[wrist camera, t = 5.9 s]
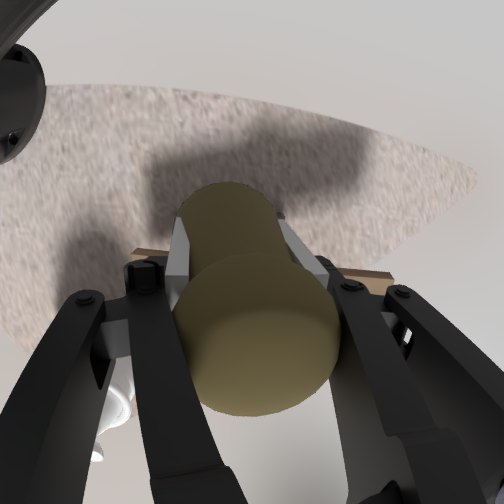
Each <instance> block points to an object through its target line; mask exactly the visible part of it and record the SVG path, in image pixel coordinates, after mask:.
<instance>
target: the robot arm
mask: <svg viewBox="0 0 504 504" xmlns="http://www.w3.org/2000/svg"><path fill="white" fill-rule="evenodd" d="M57 1H58V0H0V165H1V164H4V163H6V162H8V161H10V160H11V159H13V158H14V157H16V156H17V155H18V154H19V153H20V152H21V151H22V150H23V149H24V148H25V146H26V145H27V144H28V142H29V141H30V140H31V138H32V136H33V134H34V133H35V131H36V129H37V126H38V124H39V121H40V118H41V115H42V112H43V107H44V101H45V78H44V73H43V70H42V67H41V64H40V62H39V60H38V59H37V57H36V56H35V55H34V53H32V51H30V50H29V49H28V48H26V47H24V46H21V45H19V44H15V43H16V42H17V40H18V39H19V38H20V37H21V36H22V35H23V34H24V32H25V31H27V29H28V28H29V27H30V26H31V25H32V24H33V23H34V22H35V21H36V20H37V19H38V18H39V17H40V16H42V15H43V14H44V13H45V12H46V11H47V10H48V9H49V8H50V7H51V6H52V5H53V4H55V3H56V2H57ZM278 221H279V224H280V227H281V230H282V233H283V236H284V239H285V242H286V245H287V247H288V250H289V253H290V256H291V258H292V261H293V262H294V263H295V264H297V265H299V266H301V267H303V268H305V269H307V270H309V271H311V272H312V273H313V275H314V276H315V277H316V278H317V279H318V280H319V282H320V283H321V284H322V285H323V286H324V287H325V288H326V290H327V291H328V292H329V294H330V295H331V296H332V297H333V300H334V303H335V306H336V309H337V312H338V316H339V319H340V323H341V327H342V335H341V342H340V349H339V356H338V360H337V363H336V365H335V367H334V369H333V371H332V373H331V375H330V377H329V382H330V387H331V392H332V397H333V402H334V407H335V413H336V418H337V423H338V429H339V434H340V440H341V445H342V451H343V457H344V462H345V469H346V475H347V481H348V489H349V492H348V498H347V502H346V504H504V372H503V371H502V370H501V369H500V368H499V367H498V366H497V365H496V364H495V363H494V362H493V361H492V360H491V359H490V358H489V357H487V356H486V354H484V353H483V352H482V351H481V350H480V349H479V348H478V347H477V346H476V345H475V344H474V343H473V342H472V341H471V340H470V339H468V338H467V337H466V336H465V335H464V334H463V333H462V332H461V331H460V330H459V329H457V328H456V327H455V326H454V325H453V324H452V323H451V322H450V321H449V320H448V319H446V318H445V317H444V316H443V315H442V314H441V313H440V312H438V311H437V310H436V309H435V308H434V307H433V306H432V305H430V304H429V303H428V302H427V301H426V300H425V299H423V298H422V297H421V296H420V295H419V294H418V293H416V292H415V291H414V290H412V289H411V288H408V287H407V286H405V285H403V286H402V285H400V284H399V285H390V286H388V287H387V290H386V293H385V296H384V295H376V294H370V292H369V290H368V288H367V287H366V286H365V285H364V284H363V283H361V282H359V281H356V280H353V279H346V278H345V277H344V276H343V275H342V274H341V273H340V272H339V270H338V269H337V268H336V267H335V266H334V265H333V264H332V263H331V261H330V260H328V259H326V258H325V257H323V256H314V255H313V254H312V252H311V251H310V250H309V249H308V248H307V247H306V245H305V244H304V243H303V242H302V241H301V239H300V238H299V237H298V236H297V235H296V234H295V232H294V231H293V230H292V229H291V228H290V227H289V225H288V224H287V223H286V222H285V221H284V220H283V219H278ZM189 248H190V243H189V240H188V237H187V234H186V232H185V229H184V226H183V223H182V220H181V217H176V221H175V226H174V230H173V235H172V240H171V245H170V251H169V256H148V257H147V258H146V259H139V260H134V261H132V262H129V263H128V264H126V265H125V267H124V277H125V286H126V296H125V297H122V298H120V299H115V300H109V301H105V300H104V296H103V294H102V293H100V292H98V291H95V290H82V291H78V292H76V293H74V294H72V295H71V296H70V297H69V298H68V299H67V300H66V302H65V303H64V304H63V306H62V308H61V309H60V311H59V312H58V314H57V315H56V317H55V318H54V320H53V321H52V323H51V325H50V326H49V328H48V329H47V331H46V333H45V334H44V336H43V337H42V339H41V341H40V342H39V344H38V346H37V347H36V349H35V351H34V352H33V354H32V356H31V358H30V359H29V361H28V363H27V365H26V366H25V368H24V370H23V372H22V374H21V375H20V377H19V379H18V381H17V383H16V385H15V386H14V388H13V390H12V392H11V394H10V396H9V398H8V400H7V402H6V404H5V406H4V408H3V410H2V412H1V414H0V504H82V503H83V496H84V491H85V486H86V481H87V475H88V470H89V466H90V461H91V456H92V452H93V447H94V443H95V438H96V434H97V430H98V426H99V422H100V418H101V414H102V410H103V407H104V403H105V399H106V395H107V392H108V388H109V385H110V381H111V378H112V374H113V371H114V367H115V364H116V358H122V357H127V356H131V362H132V371H133V380H134V387H135V395H136V402H137V409H138V415H139V421H140V427H141V433H142V437H143V443H144V448H145V454H146V458H147V463H148V468H149V473H150V486H151V491H152V496H153V500H154V504H248V502H247V500H246V498H245V496H244V494H243V492H242V489H241V487H240V485H239V483H238V481H237V479H236V477H235V475H234V473H233V471H232V470H231V468H230V467H229V466H225V465H224V463H223V461H222V459H221V457H220V454H219V451H218V449H217V446H216V444H215V441H214V439H213V436H212V434H211V431H210V428H209V426H208V423H207V420H206V417H205V415H204V412H203V409H202V406H201V404H200V401H199V398H198V395H197V392H196V389H195V386H194V383H193V380H192V377H191V374H190V371H189V368H188V365H187V362H186V359H185V356H184V353H183V350H182V346H181V343H180V340H179V337H178V333H177V330H176V326H175V323H174V320H173V316H172V313H171V312H172V310H173V308H174V306H175V304H176V303H177V301H178V299H179V297H180V295H181V294H182V292H183V290H184V289H185V287H186V285H187V284H188V283H189ZM408 328H409V329H410V331H411V332H412V335H411V338H410V340H409V342H408V344H407V343H406V342H405V341H404V338H405V335H406V332H407V329H408Z"/></svg>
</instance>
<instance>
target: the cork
mask: <svg viewBox="0 0 504 504" xmlns="http://www.w3.org/2000/svg"><path fill="white" fill-rule="evenodd" d="M176 217H181V220H182V223H183V226H184V229H185V232H186V234H187V237H188V240H189V243H190V248H189V283H188V284H187V285H186V287H185V289H184V290H183V292H182V294H181V295H180V297H179V299H178V301H177V303H176V304H175V306H174V308H173V310H172V312H171V313H172V316H173V320H174V323H175V326H176V330H177V333H178V337H179V340H180V343H181V346H182V350H183V353H184V356H185V359H186V362H187V365H188V368H189V371H190V374H191V377H192V380H193V383H194V386H195V389H196V392H197V395H198V398H199V401H200V402H201V403H202V404H204V405H206V406H207V407H209V408H211V409H213V410H214V411H217V412H221V413H225V414H229V415H233V416H250V417H251V416H252V417H257V416H262V415H268V414H273V413H278V412H280V411H283V410H285V409H288V408H291V407H293V406H295V405H298V404H299V403H301V402H302V401H304V400H305V399H307V398H308V397H310V396H311V395H313V394H314V393H316V391H317V390H318V389H319V388H320V387H321V386H322V385H323V384H324V383H325V382H326V380H327V379H328V378H329V377H330V375H331V373H332V371H333V369H334V367H335V365H336V363H337V360H338V356H339V349H340V342H341V335H342V327H341V323H340V319H339V316H338V312H337V309H336V306H335V303H334V300H333V297H332V296H331V295H330V294H329V292H328V291H327V290H326V288H325V287H324V286H323V285H322V284H321V283H320V282H319V280H318V279H317V278H316V277H315V276H314V275H313V273H312V272H311V271H309V270H307V269H305V268H303V267H301V266H299V265H297V264H295V263H294V262H293V261H292V258H291V256H290V253H289V250H288V247H287V245H286V242H285V239H284V236H283V233H282V230H281V227H280V224H279V221H278V218H277V215H276V213H275V210H274V208H273V206H272V205H271V203H270V202H269V201H268V200H267V199H266V198H265V197H264V195H263V194H262V193H260V192H258V191H256V190H255V189H253V188H251V187H250V186H248V185H244V184H239V183H234V182H223V183H215V184H211V185H209V186H206V187H204V188H202V189H200V190H198V191H196V192H195V193H194V194H192V195H191V196H190V197H189V198H188V199H187V200H186V201H185V202H184V203H183V204H182V206H181V208H180V210H179V212H178V213H177V215H176ZM176 217H175V220H174V226H175V221H176ZM174 226H173V230H174ZM172 235H173V232H172Z"/></svg>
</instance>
